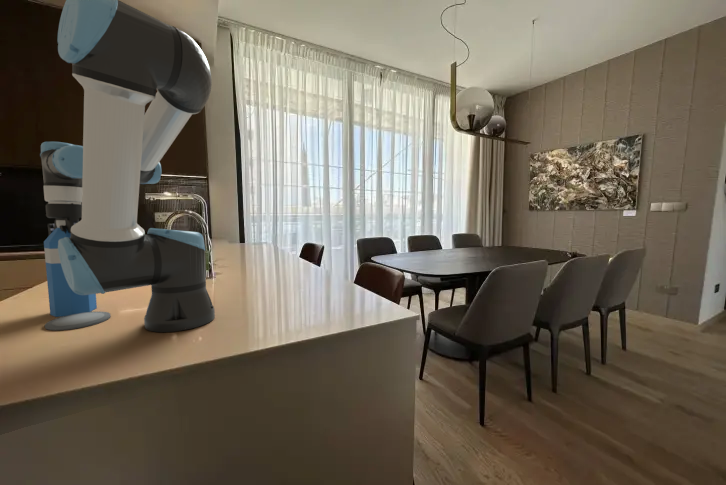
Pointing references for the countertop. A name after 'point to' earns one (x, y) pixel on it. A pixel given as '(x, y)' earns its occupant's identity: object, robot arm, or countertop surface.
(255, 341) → the countertop surface
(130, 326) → the countertop surface
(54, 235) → the water bottle
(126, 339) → the countertop surface
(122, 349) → the countertop surface
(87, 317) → the coaster
